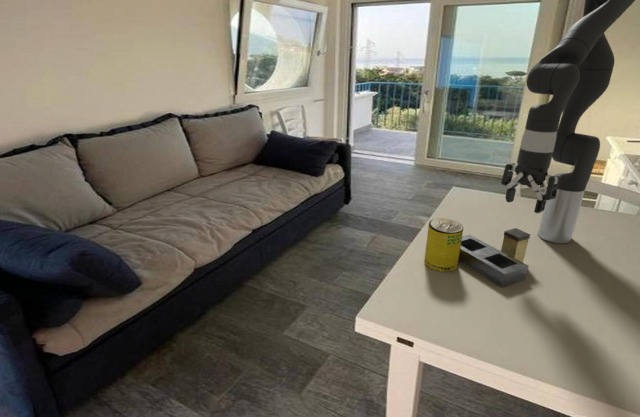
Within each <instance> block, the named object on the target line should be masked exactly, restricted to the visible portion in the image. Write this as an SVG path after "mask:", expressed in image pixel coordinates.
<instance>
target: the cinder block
mask: <svg viewBox="0 0 640 417" xmlns="http://www.w3.org/2000/svg"><path fill="white" fill-rule="evenodd" d="M459 262H460V263H461V264H463V265H465V266H466V267H468V268H469V269H471V270H473V272H475V273H477V274H479V275H480V276H482V277H484V278H486V279H487V280H489V281H490V282H492V283H493V284H495V285H497V286H498V287H500V288H505V287H508V286H510V285H512V284H516V283H519V282H520V281H524V280H526V279H527V274H528V269H529V265H528V264H526V263H524V261H523V262H521V261H519V260H517V259H515V258H513V257H511V256H509V255H507V254H505V253H504V252H502V251H501V249H497V248H495V247H494V246H492V245H490V244H488V243H486V242H485V241H482V240H480V239H479V238H476V237H475V236H473V235H471V234H467V235H462V240H461V246H460V252H459V259H458V263H459Z"/></svg>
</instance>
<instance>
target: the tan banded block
mask: <svg viewBox="0 0 640 417" xmlns="http://www.w3.org/2000/svg"><path fill="white" fill-rule="evenodd" d="M503 232H504V233H503V241H502V245H501V249H500V251H502V252H504V253H505V254H507V255H509V256H511V257H513V258H515V259H517V260H519V261H521V262H523V263H524V261H525V260H524V259H525V256H526V253H527V252H526V251H527V248H528V244H529V239H530V238H531V234H530V233H528V232H525V231H524V230H522V229H519V228H517V227H514V228H511V229H507V230H505V231H503Z"/></svg>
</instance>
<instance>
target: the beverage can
mask: <svg viewBox="0 0 640 417" xmlns="http://www.w3.org/2000/svg"><path fill="white" fill-rule="evenodd" d="M427 228H428V229H427V235H426V246H425V251H424V252H425V253H424V261H423V262H424V264H425V265H426V267H428V268H429V269H431V270H433V271H435V272H440V273H448V272H453V271H455V270H457V268H458V265H459V264H458V263H459V261H458V259H459V252H460V246H461V240H462V236H463V233H464V225H463V224H462V223H461V222H459V221H457V220H454V219H450V218H443V217H442V218H441V217H440V218H433V219H431V220H430V221H429V223H428V227H427Z"/></svg>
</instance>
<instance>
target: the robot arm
mask: <svg viewBox="0 0 640 417" xmlns="http://www.w3.org/2000/svg"><path fill="white" fill-rule="evenodd" d="M634 2H636V0H584V7H583V12H582V18H580V19H579V20H577V21H576V22H575V23H574V24H573V25H572V26H570V28H568V30H567V31H566V32H565V34H564V35H563V37H562V38H561V39H560V40H559V42H558V44H557V45H556V46H555V47H554V48H553V49H551V51H549V52H548V53H547V54H546V55H544V56H543V57H542V58H541V59H539V60H538V61H537V62H536V63H535V64H534V65H533V66H532V68H531V69H530V71H529V73H528V75H527V78H526V87H527V89H528V90H529V92H531V93H533V94H539V95H548V96H549V95H550V96H551V95H552V98H551V99H550V100H549V102H547V103H538V104H534V105H532V106H531V107H530V108H529V109H528V113H527V118H526V122H525V128H524V131H523V134H522V136H521V141H520V145H519V146H520V147H519V149H518V155H517V160H516V163H514V162H512V163H507V164H506V165H505V166H504V171H503V175H502V179H501V183H500V184H501V185H502V186H505V188H506V191H505V201H506V202H507V203H512V202H513V201H514V200H515V196H516V190H517V188H516V187H519V186H518V185H521V186H526V187H528V188H532V190H533V192H534V194H535V195H536V197H537V199H536V204H535V206H534V207H535V208H534V211H533V212H534V213H535V214H540V213H542V214H541V219H540V222H539V228H538V230H537V236H538V237H539V238H541V239H542V240H544V241H547V242H550V243H555V244H568V243H570V242H571V240H572V238H573V235H574V231H575V227H576V225H577V221H578V218H579V214H580V208H581V206H582V203H583V199H584V194H585V191H586V189H587V186H588V183H589V180H590V178H591V176H592V173H593V172H592V171H593V169H594V166H595V163H596V161H597V158H598V155H599V152H600V149H601V141H600V139H599V137H597V136H595V135H590V134H582V133H577V132H576V128H577V125H578V123H579V120H580V119H581V118H582V116H583V114H584V113H585V112H586V111H587V110H588V109H589V108H590V107H591V106H592V105H594V104H595V102H596V101H598V99H599V98H600V97H601V96H602V95H603V94H604V93H605V92H606V90H608V88H609V85H610V82H611V78H612V74H613V71H614V67H615V62H616V60H615V55H614V52H613V49H612V47H611V44H610V43H609V41H608V39H607V36H606V34H605V32H606V31H607V30H608V29H609V28H610V27H612V25H613V24H614V23H615V22H616V21H617V20H618V19H619V18H621V16H622V15H623V14H624V13H625V12H626V11H627V10H629V7H631V6H632V5H633V3H634ZM552 160H553V161H554V162H556V163H561V164H564V165H569V166H573V170H572V171H571V172H564V173H563V172H562V173H556V174H554V175H551V174H550V175H549V174H548V173H549V172H548V171H549V168H550V166H551V162H552ZM516 164H517V165H516ZM514 173H515V177H514ZM545 181H546V183H545Z"/></svg>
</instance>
